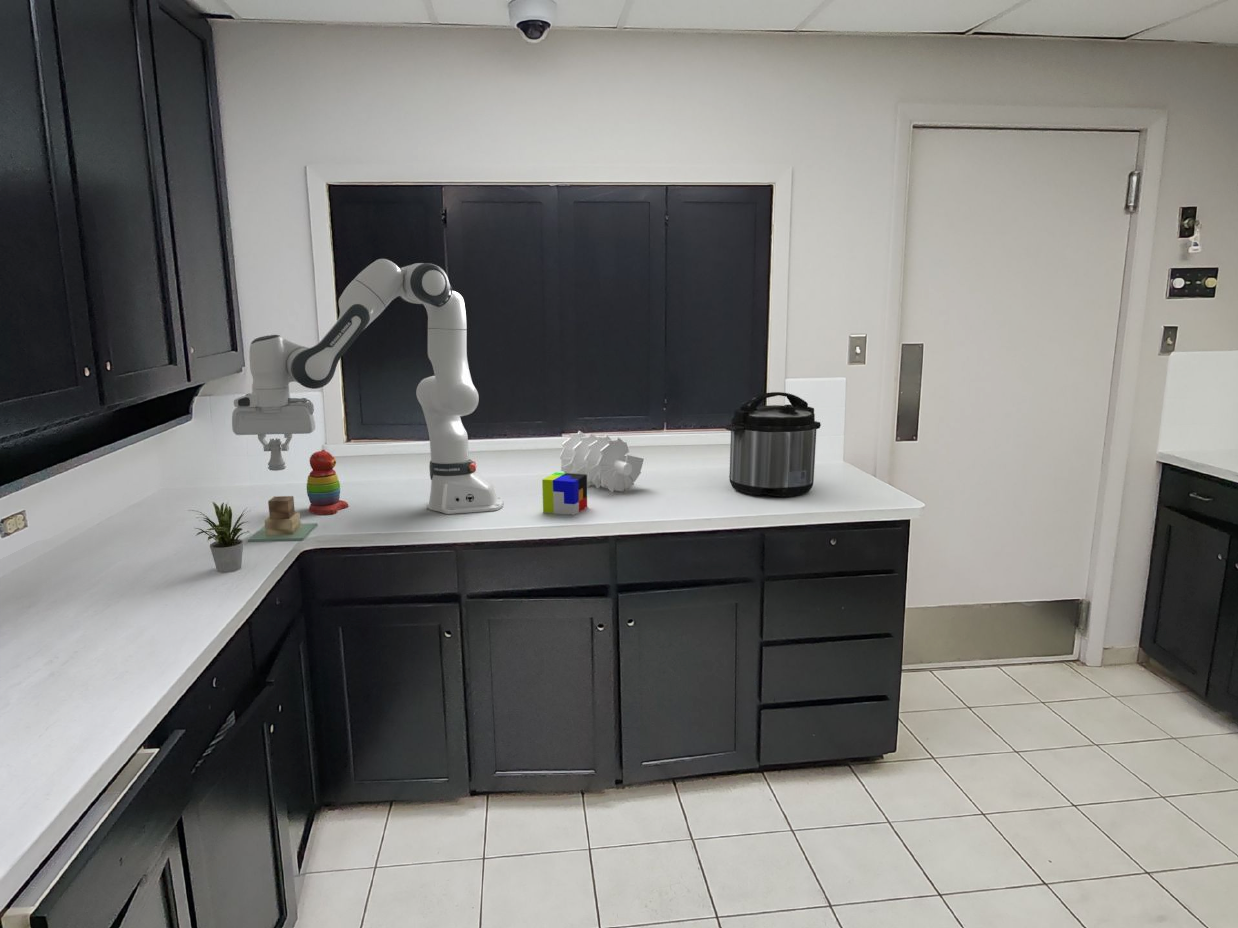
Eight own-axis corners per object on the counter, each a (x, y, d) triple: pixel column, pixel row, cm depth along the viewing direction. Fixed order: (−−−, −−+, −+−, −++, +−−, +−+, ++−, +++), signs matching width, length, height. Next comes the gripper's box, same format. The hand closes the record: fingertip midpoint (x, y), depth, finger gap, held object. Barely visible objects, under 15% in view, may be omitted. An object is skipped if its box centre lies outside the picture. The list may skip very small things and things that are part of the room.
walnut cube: (294, 513, 222) (293, 496, 221) (289, 518, 217) (287, 500, 216) (275, 514, 221) (274, 496, 220) (269, 519, 216) (268, 501, 215)
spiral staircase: (616, 507, 260) (563, 491, 277) (651, 476, 269) (598, 462, 286) (600, 461, 250) (546, 446, 267) (636, 430, 260) (582, 418, 277)
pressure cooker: (816, 481, 278) (820, 388, 271) (820, 501, 250) (825, 398, 244) (727, 477, 283) (729, 386, 277) (722, 497, 256) (724, 396, 249)
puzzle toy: (574, 515, 237) (574, 481, 235) (543, 512, 240) (542, 479, 238) (587, 506, 246) (586, 474, 244) (556, 504, 249) (555, 472, 247)
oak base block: (300, 527, 223) (299, 512, 223) (293, 534, 217) (291, 519, 216) (274, 527, 223) (273, 513, 222) (265, 535, 216) (264, 520, 215)
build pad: (317, 525, 227) (317, 523, 227) (303, 540, 214) (302, 537, 214) (265, 526, 226) (265, 524, 226) (247, 541, 212) (247, 539, 212)
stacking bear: (332, 515, 238) (327, 455, 234) (300, 513, 240) (295, 454, 236) (351, 505, 248) (346, 448, 244) (320, 504, 250) (316, 447, 246)
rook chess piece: (270, 471, 213) (268, 441, 211) (265, 468, 216) (263, 438, 215) (288, 469, 216) (286, 439, 214) (283, 466, 219) (281, 437, 218)
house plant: (181, 568, 192) (173, 501, 189) (241, 554, 202) (234, 490, 199) (206, 582, 182) (198, 512, 179) (267, 567, 192) (260, 500, 189)
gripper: (316, 396, 216) (320, 447, 219) (236, 397, 215) (241, 449, 218) (309, 399, 210) (313, 452, 213) (226, 400, 209) (232, 454, 211)
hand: (276, 450), depth 215 cm, fingers closed on rook chess piece, 3 cm apart
